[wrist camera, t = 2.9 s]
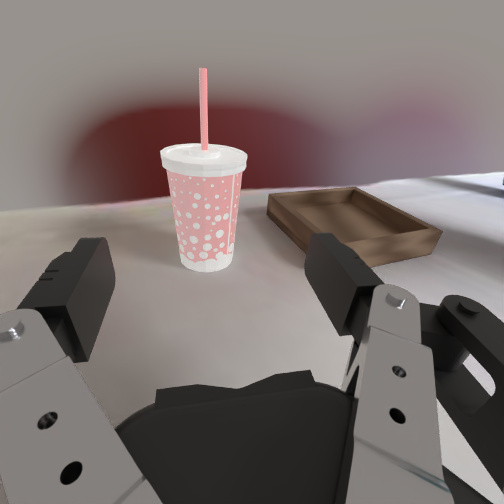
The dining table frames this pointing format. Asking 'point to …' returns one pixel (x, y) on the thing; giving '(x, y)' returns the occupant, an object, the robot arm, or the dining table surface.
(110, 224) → the dining table surface
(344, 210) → the walnut tray
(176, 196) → the beverage cup
